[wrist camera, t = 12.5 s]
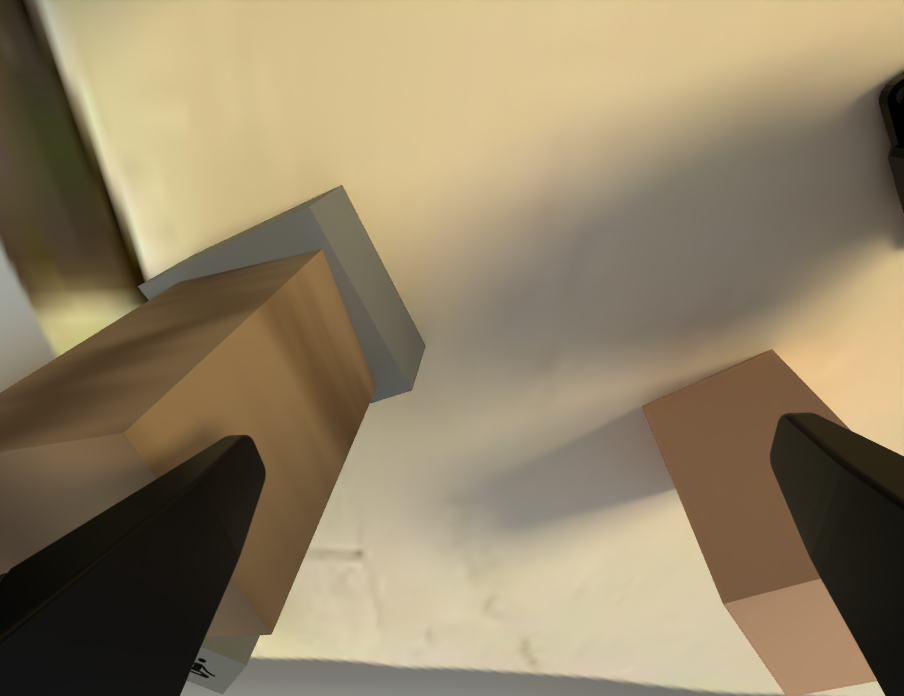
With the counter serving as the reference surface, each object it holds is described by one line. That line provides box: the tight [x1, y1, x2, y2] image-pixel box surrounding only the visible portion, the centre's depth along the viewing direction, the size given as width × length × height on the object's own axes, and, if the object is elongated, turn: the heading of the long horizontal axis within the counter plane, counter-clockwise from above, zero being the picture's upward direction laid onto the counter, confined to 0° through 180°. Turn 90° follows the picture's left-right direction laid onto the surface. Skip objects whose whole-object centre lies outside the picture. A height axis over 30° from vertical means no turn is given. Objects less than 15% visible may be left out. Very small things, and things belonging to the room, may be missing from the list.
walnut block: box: [0, 249, 376, 637], centre depth 14 cm, size 6×6×10 cm
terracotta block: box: [642, 350, 877, 696], centre depth 19 cm, size 6×6×10 cm
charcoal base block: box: [138, 185, 425, 403], centre depth 21 cm, size 8×8×4 cm
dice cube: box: [187, 635, 260, 694], centre depth 33 cm, size 5×5×5 cm
